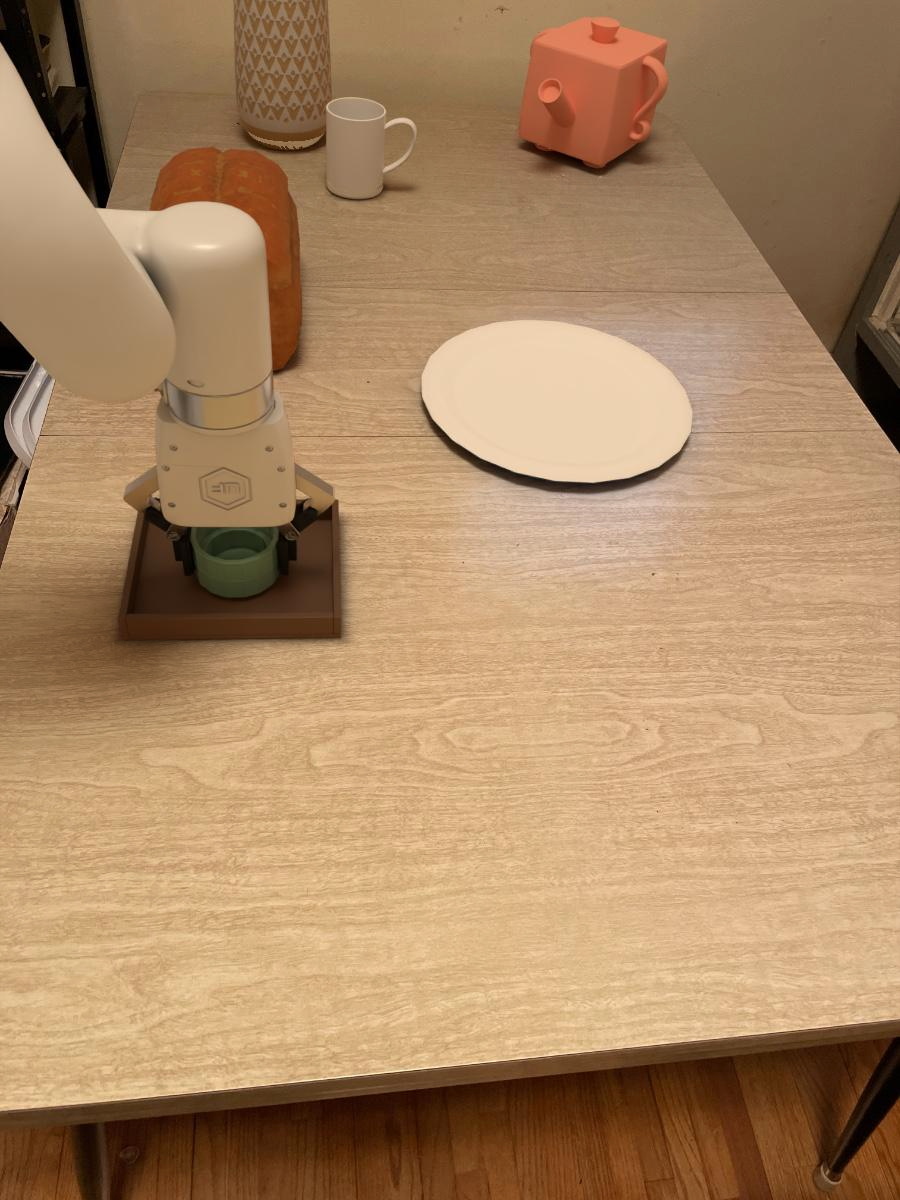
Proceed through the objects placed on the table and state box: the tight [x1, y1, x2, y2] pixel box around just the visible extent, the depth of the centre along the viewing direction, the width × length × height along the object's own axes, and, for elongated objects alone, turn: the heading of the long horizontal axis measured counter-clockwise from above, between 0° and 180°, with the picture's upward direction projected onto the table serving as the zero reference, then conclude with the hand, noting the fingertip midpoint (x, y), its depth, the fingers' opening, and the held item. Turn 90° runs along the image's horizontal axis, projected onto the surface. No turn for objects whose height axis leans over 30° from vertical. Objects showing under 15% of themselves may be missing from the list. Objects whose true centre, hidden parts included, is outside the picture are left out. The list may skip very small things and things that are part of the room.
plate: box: [420, 319, 694, 485], centre depth 103 cm, size 29×29×2 cm
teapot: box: [518, 16, 669, 169], centre depth 143 cm, size 25×23×18 cm
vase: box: [232, 0, 333, 151], centre depth 133 cm, size 14×14×31 cm
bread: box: [148, 146, 303, 372], centre depth 105 cm, size 16×27×16 cm, turn 7°
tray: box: [117, 497, 342, 641], centre depth 81 cm, size 17×14×2 cm
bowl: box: [190, 526, 280, 598], centre depth 80 cm, size 7×7×4 cm
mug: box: [325, 96, 418, 200], centre depth 131 cm, size 12×8×10 cm, turn 88°
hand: (238, 562), depth 81 cm, fingers closed on bowl, 7 cm apart
